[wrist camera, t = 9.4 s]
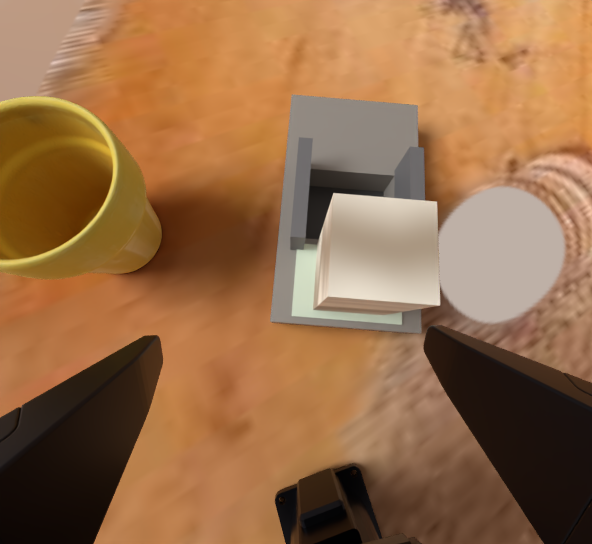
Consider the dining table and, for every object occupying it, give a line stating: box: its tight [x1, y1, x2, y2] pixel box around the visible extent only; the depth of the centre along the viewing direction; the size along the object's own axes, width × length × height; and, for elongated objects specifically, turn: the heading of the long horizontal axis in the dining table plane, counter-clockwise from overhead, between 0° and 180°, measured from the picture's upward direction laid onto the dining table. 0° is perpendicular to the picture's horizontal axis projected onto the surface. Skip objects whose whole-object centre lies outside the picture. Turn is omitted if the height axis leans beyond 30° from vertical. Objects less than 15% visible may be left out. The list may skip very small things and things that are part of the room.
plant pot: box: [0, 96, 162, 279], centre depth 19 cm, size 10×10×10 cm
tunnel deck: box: [270, 95, 425, 333], centre depth 22 cm, size 20×11×6 cm, turn 176°
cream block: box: [313, 193, 440, 315], centre depth 17 cm, size 5×5×8 cm
